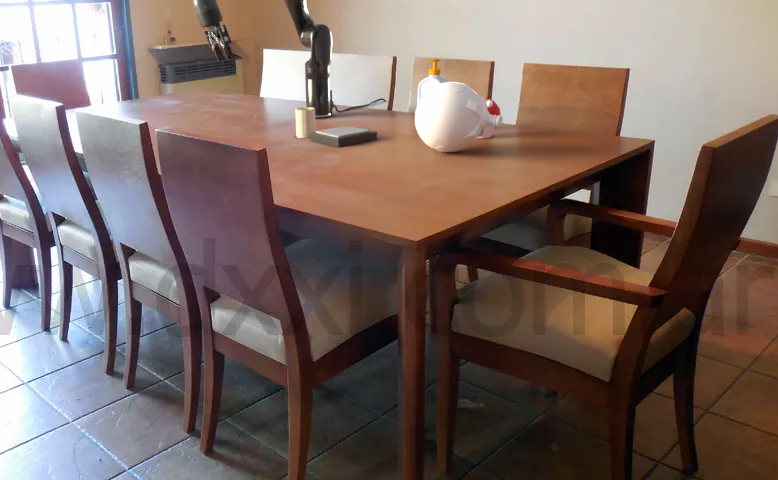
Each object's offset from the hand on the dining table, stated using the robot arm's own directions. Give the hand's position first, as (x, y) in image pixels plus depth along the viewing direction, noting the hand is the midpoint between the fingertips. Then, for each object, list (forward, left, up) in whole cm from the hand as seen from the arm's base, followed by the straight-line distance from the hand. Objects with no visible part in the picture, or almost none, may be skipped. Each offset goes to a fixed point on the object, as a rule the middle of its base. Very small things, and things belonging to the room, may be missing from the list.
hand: (226, 59), depth 225 cm
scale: (-21, +35, -24) cm, 48 cm away
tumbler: (-16, +21, -24) cm, 36 cm away
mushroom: (-56, +62, -25) cm, 87 cm away
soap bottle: (-52, +44, -25) cm, 73 cm away
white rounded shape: (-33, +72, -25) cm, 83 cm away
